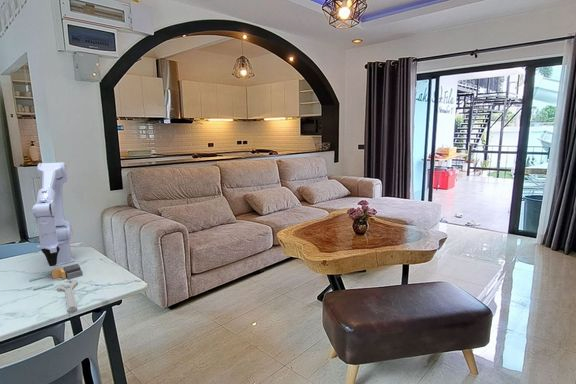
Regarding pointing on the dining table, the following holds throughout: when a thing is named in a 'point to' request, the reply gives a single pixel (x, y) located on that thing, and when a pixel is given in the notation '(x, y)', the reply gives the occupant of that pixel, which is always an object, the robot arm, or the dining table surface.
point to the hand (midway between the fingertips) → (52, 265)
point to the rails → (41, 286)
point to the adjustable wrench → (69, 295)
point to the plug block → (71, 269)
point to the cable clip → (74, 274)
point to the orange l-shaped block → (58, 273)
